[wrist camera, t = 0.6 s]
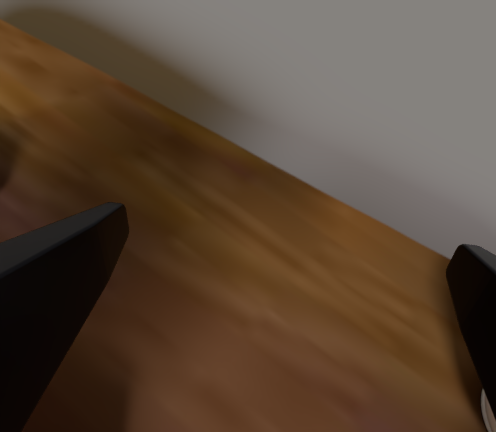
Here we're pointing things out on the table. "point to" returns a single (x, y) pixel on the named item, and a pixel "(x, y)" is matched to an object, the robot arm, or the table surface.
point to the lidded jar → (487, 414)
